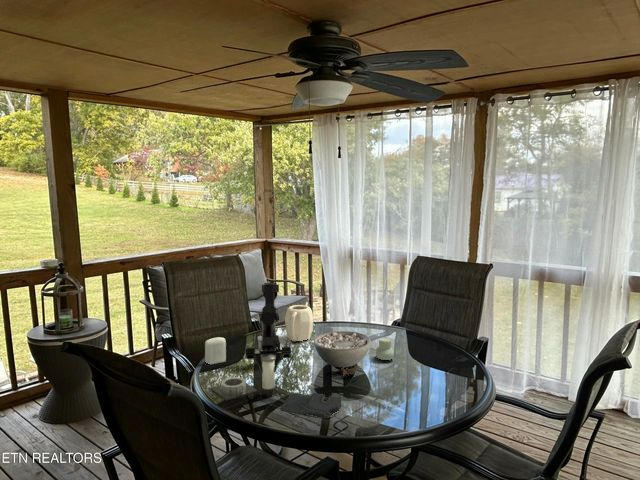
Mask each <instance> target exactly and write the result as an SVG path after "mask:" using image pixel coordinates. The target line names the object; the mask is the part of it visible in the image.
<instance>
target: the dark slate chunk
mask: <svg viewBox="0 0 640 480" xmlns="http://www.w3.org/2000/svg"><path fill="white" fill-rule="evenodd" d="M327 400H328V401H327ZM326 401H327V402H326ZM341 402H342V399H341V397H340V396H333V395H329V396H328V397H326V395H325V394H319V393H316V392H314V393H312V394H304V393H300V392H292V393H291V394H290V395H288V396H287V398H286V399H285V400H284V403H283V404H282V406H281V411H282V412H285V413H291V414H295V415H300V414H308V415H313V416H317V417H316V418H318V417H327V418H329V417H330V416H331V415H332V414H333V413H335V412H337V411H339V409H340V407H341V408H342V403H341ZM340 410H341V409H340ZM339 412H340V411H339Z"/></svg>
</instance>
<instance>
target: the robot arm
mask: <svg viewBox="0 0 640 480" xmlns="http://www.w3.org/2000/svg"><path fill="white" fill-rule="evenodd" d="M261 293H262V295H263V297H264V299H265V301H264V305H263V307H262V308H261V312H260V315H259V322H260V323H261V329H262V331H261V349H256V346H250V347H248V346H247V347H245V358H246V359H245V360H253V361H256V363H257V364H258V367H259V370H260V373H261V374H262V360H261V356H263V355H274V356H275V357H276V359H275V368H274V372H275V373H276V372H277V369H278V367H279V365H280V363H281V361H283V360H284V359H291V358H292V346H285V345H284V346H281V342H280V335H279V334H278V335H277V334H276V333H277V331H276V324H277V323H278V322H279V321H280V315H279V314H278V312H277V307H276V306H275V300H276V299H277V297H278V293H280V285H279V284H277V282H264V283H263V284H261Z"/></svg>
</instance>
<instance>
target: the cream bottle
mask: <svg viewBox="0 0 640 480" xmlns="http://www.w3.org/2000/svg"><path fill="white" fill-rule="evenodd" d="M275 359H276V357H275V356H274V355H261V363H262V373H261V377H262V378H261V381H262V383H261V385H262V389H264V390H272V389H274V388H275V387H276V386H275V383H276V382H275V378H276V377H275V374H276V372H274V368H275Z"/></svg>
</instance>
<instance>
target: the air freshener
mask: <svg viewBox="0 0 640 480" xmlns="http://www.w3.org/2000/svg"><path fill="white" fill-rule="evenodd" d="M376 356H377V357H376ZM375 357H376V358H378V359H377V360H379V359H381V360H380V361H382V360H389V361H392V360H394V359H395V351H394V347H392V339H390V338H389V337H388V338H387V337H382V338H379V341H378V346H377V347H376V348H375ZM391 359H392V360H391Z"/></svg>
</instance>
